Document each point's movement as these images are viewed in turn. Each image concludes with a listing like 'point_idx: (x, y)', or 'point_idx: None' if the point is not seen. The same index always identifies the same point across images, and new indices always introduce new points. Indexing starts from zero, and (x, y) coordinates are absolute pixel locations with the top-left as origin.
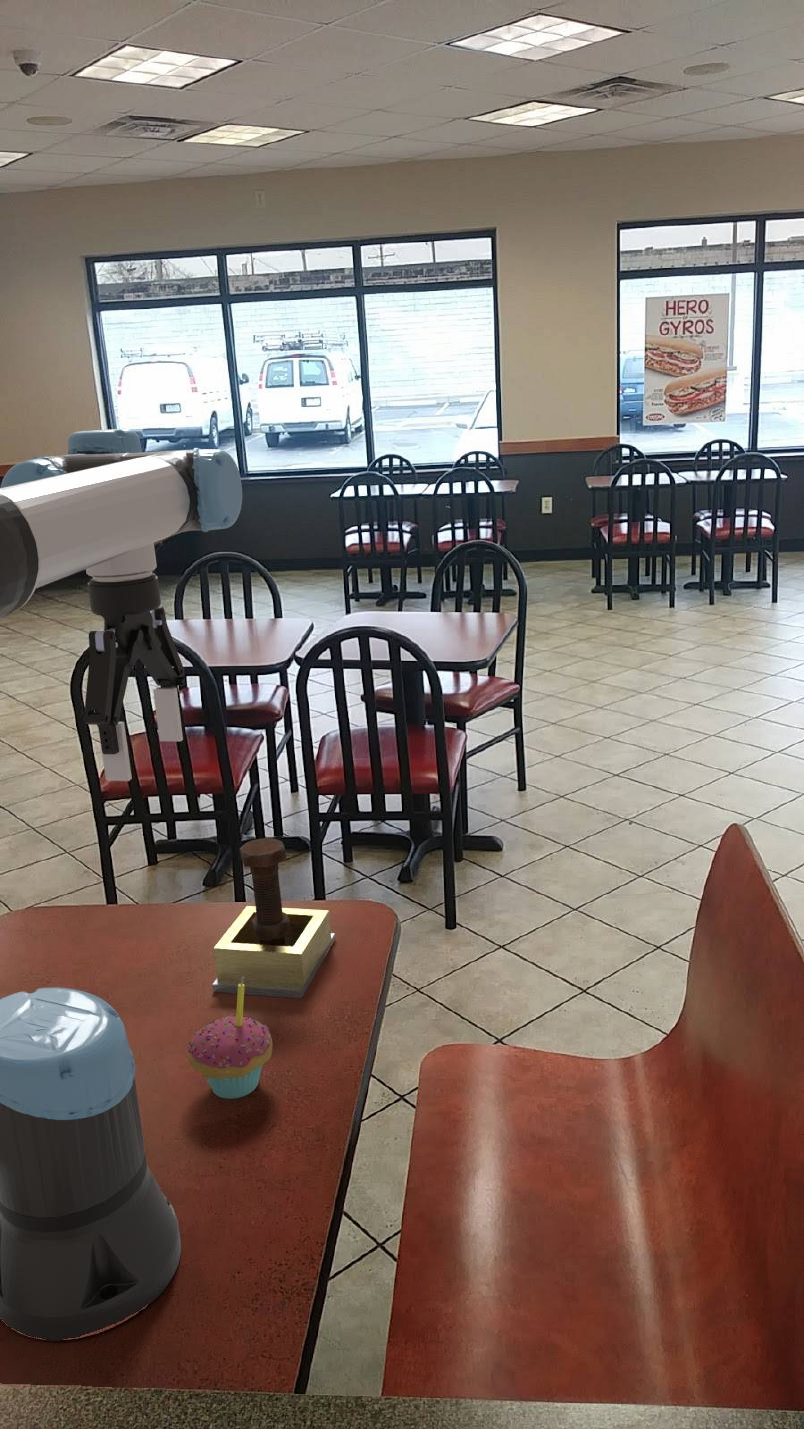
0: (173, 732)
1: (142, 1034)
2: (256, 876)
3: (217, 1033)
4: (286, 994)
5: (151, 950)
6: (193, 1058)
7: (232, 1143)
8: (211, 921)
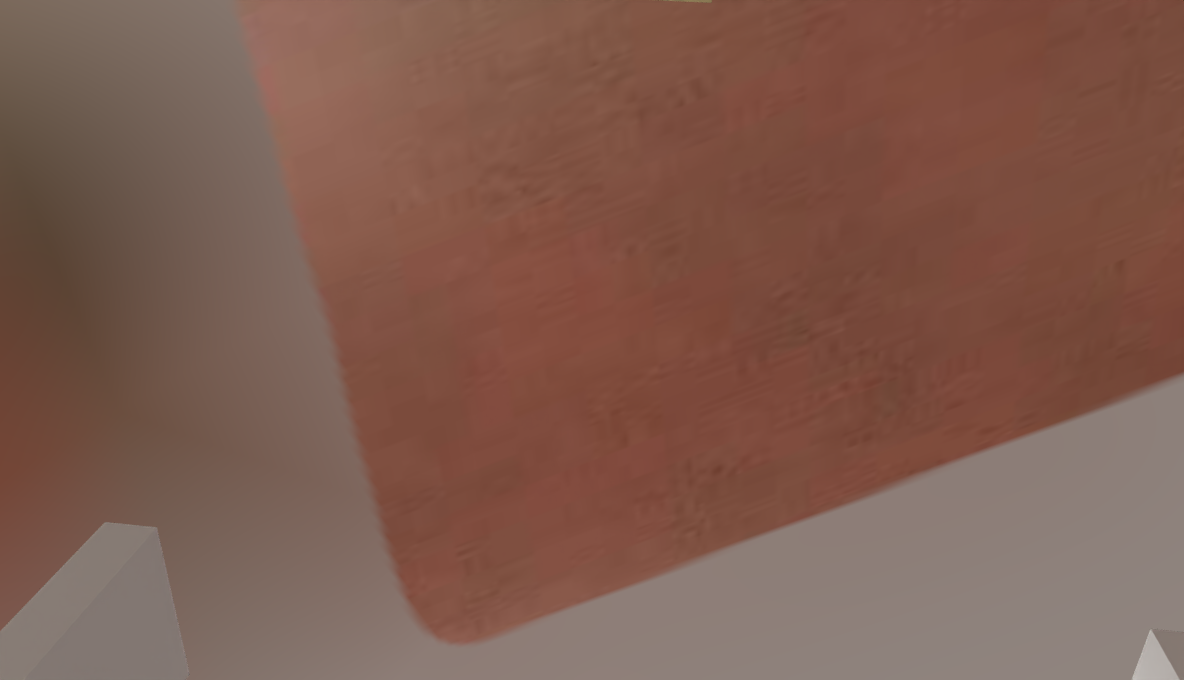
0: (120, 628)
1: (990, 123)
2: None
3: None
4: None
5: (530, 271)
6: None
7: None
8: (333, 154)
